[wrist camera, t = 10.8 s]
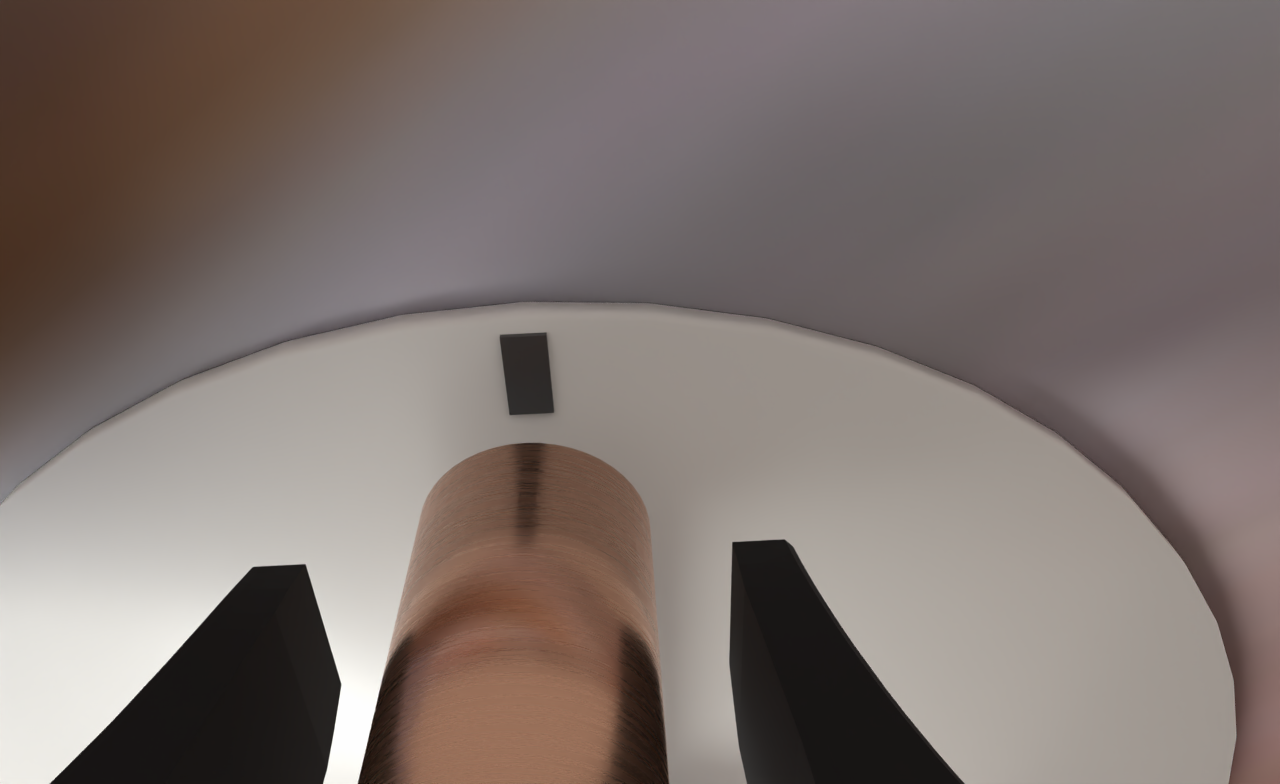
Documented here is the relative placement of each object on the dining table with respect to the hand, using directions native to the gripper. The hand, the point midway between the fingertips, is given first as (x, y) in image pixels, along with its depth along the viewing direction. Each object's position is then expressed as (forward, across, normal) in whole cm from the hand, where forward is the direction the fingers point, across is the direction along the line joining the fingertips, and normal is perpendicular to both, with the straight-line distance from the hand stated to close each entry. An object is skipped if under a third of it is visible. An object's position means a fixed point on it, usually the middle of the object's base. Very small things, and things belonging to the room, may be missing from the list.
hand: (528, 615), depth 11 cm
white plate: (+3, 0, +10) cm, 10 cm away
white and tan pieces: (+2, 0, +6) cm, 6 cm away
